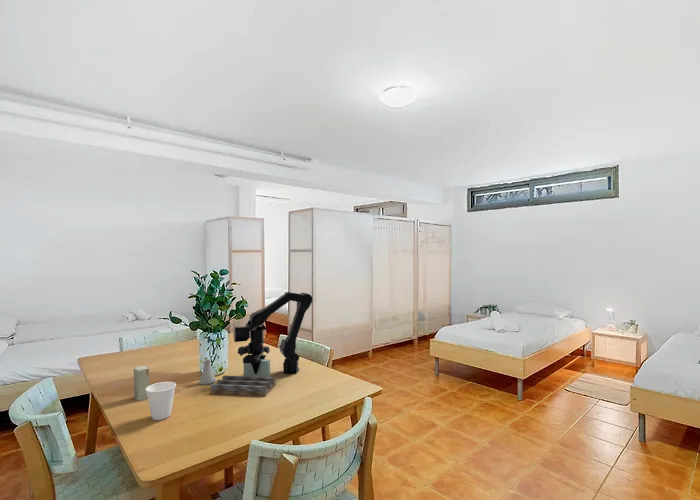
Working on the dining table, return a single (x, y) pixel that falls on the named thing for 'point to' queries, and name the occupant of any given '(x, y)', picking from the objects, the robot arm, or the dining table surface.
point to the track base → (243, 385)
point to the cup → (161, 399)
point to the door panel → (262, 372)
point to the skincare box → (141, 382)
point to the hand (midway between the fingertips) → (257, 372)
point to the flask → (207, 374)
